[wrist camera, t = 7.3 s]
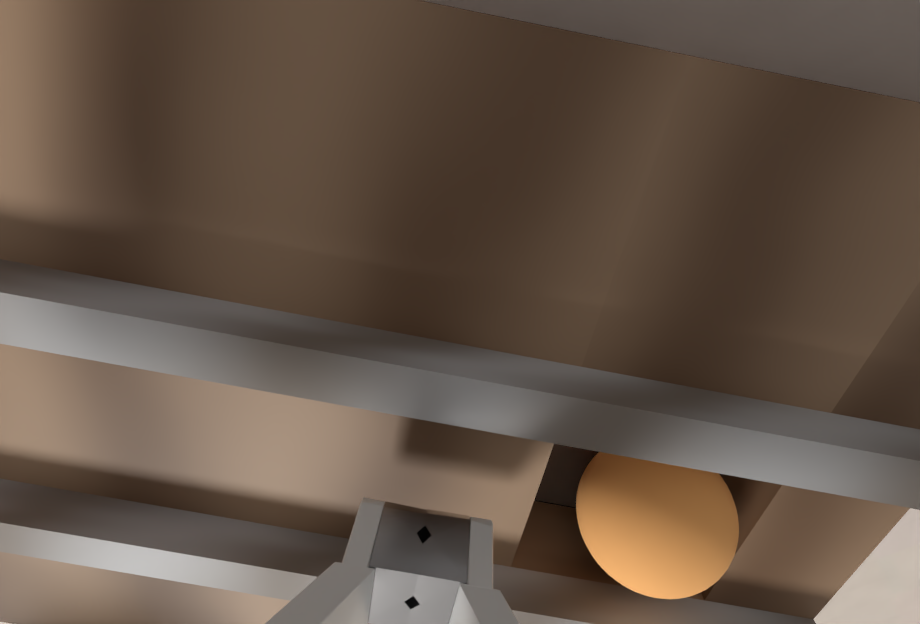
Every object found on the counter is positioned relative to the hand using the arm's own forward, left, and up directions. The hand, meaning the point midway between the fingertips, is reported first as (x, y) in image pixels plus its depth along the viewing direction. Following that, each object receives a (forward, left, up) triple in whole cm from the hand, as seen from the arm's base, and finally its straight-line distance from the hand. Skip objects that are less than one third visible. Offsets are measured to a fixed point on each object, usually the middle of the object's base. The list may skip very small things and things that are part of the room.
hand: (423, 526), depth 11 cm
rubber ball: (-6, 0, -2) cm, 6 cm away
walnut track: (+3, 0, -4) cm, 5 cm away
